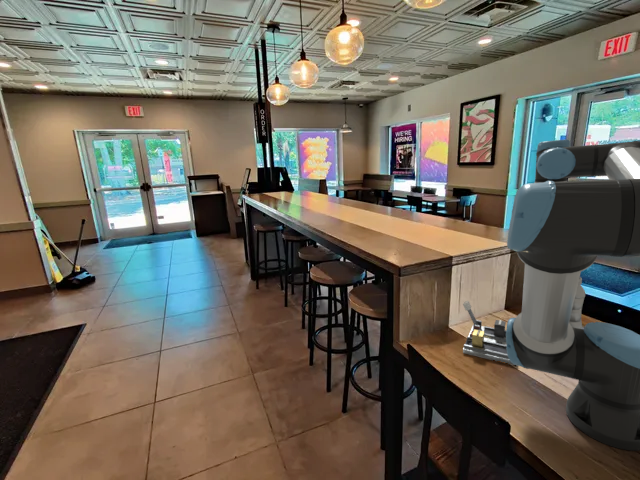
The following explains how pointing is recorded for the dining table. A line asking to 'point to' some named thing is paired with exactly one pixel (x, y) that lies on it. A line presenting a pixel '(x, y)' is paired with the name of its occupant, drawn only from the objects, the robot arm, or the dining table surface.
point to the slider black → (499, 328)
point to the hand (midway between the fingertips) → (543, 273)
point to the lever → (470, 311)
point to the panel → (488, 345)
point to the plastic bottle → (577, 306)
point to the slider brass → (478, 338)
